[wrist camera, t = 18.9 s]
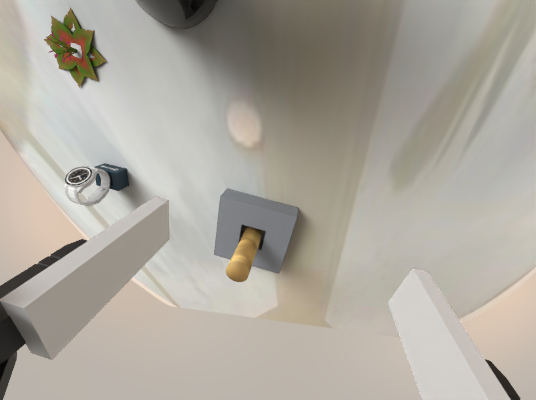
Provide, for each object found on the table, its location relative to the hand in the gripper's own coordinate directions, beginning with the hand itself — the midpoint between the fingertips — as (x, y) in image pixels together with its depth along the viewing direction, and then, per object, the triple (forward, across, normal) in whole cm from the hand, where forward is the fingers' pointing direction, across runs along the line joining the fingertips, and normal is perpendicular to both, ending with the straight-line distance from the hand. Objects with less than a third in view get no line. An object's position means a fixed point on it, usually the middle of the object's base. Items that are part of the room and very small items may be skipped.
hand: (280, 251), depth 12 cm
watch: (+32, -40, -18) cm, 54 cm away
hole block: (+32, -5, -22) cm, 39 cm away
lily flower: (+32, -45, +6) cm, 56 cm away
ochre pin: (+31, -5, -22) cm, 39 cm away
